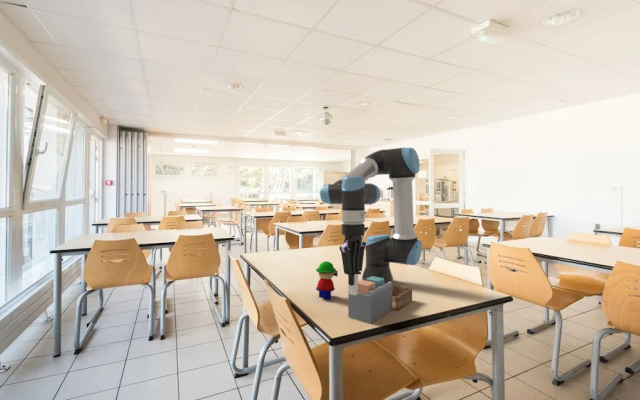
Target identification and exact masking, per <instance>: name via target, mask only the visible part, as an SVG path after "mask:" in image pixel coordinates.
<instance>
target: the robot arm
mask: <svg viewBox="0 0 640 400" xmlns="http://www.w3.org/2000/svg"><path fill="white" fill-rule="evenodd" d="M420 165H421V164H420V158H419V155H418V153H417V150H415V148H413V147H399V148H397V147H396V148H387V149H381V150H377V151H374V152H372V153H370V154H369V155H367V156H365V157H364V158H362V159H361V160H360V161H359V163H358V165H356V167H354V168H353V169H351V170H350V171H348V172H347V173H346V174H345V175H343V176H342V177H340V178H339V179H338V180H336V181H335V182H334V183H332V184H330V183H327V184H323V185H322V186H321V187H320V190H319V197H320V200H321V202H322V203H323V204H328V205H341V223H342V224H341V235H342V236H344V240H343V243H344V244H343V245H340V246H339V251H340V253H341V260H342V267H343V273H344V274H345V275H346V276H348V281H347V283H348V287H349V294H351V295H355V296H356V295H358V282H359V275H362V277H361V278H362V279H361V281H362V280H366V279H367V278H369V277H371V276H374V277H380V278H384V283H387V282H389V281H390V282H392V285H394V277H393V273H392V270H391V267H390V264H391V263H393V264H399V265H405V266H416V265H417V264H418V263H419V261H420V259H421V255H422V250H423V242H422V241H421V240H419V239H418V235H417V234H416V233H415V231H414V229H415V228H414V227H415V226H414V202H413V201H414V199H413V195H414V194H413V181H414V179H416V175H417V174H418V173H419V172H420ZM380 175H388V179H389V180H390V181H391V182H392V194H393V195H392V196H393V216H394V219H393V220H394V222H393V223H394V224H393V225H394V233H392V235H391V236H390V235H389V234H376V235H369V236H367V237H366V239H365V241H363V237H362V236H365V233H366V225H365V224H364V223H365V220H366V218H365V217H366V212H365V207H366V205H373V204H376V203H377V202H379V200H380V199H381V189H380V188H379V187H378V185H376V184H374V183H366V181H367V180H369V179H370V178H374V177H376V176H380ZM364 255H365V258H364ZM364 259H365V267H364V270H363V264H364ZM362 271H363V273H362Z"/></svg>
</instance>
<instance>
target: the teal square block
mask: <svg viewBox="0 0 640 400" xmlns="http://www.w3.org/2000/svg"><path fill="white" fill-rule="evenodd" d="M366 281H370V282H375V288H377V287H379V286H381V285H383V284H384V278H380V277H374V276H371V277H369V278H367V279H366Z"/></svg>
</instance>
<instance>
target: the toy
mask: <svg viewBox="0 0 640 400" xmlns="http://www.w3.org/2000/svg"><path fill="white" fill-rule="evenodd" d="M315 271H316V272H317V273H318V276H319V280H318V282H317V285H316V288H315V290H316V291H317V292H318V297H319V298H322V299H324V300H327V301H328V300H332V299H331V298H332V292H333V291H335V289H336V288H335V286H334V285H335V284H334V282H333V280H332V279H333V277H338V270H337V269H336V268H335V267H334V265H333V263H332V262H331V261H327V260H326V261H323V262H320V264H319V266H318V268H316V269H315Z"/></svg>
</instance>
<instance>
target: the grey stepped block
mask: <svg viewBox="0 0 640 400" xmlns="http://www.w3.org/2000/svg"><path fill="white" fill-rule="evenodd" d="M365 281H366V280H365ZM392 285H393V284H392V282H390V281H389V282H387V283H385V284H383V285H381V286H379V287H377V288H375V289H373V290H371V291H369V294H364V293H359V292H358V295H356V296H355V295H351V294H349V286H348V287H347V288H348V295H347V296H348V299H347V301H348V302H347V303H348V309H347V310H348V311H347V312H348V315H347V316H348V318H350V319H353V320H358V321H361V322H362V323H363V322H364V323H367V324H373V323H375V322H376V321H378V320H379V319H380V318H382V317H384V316H385V315H386V314H388V313H389V312H391V311H393V310H392Z"/></svg>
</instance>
